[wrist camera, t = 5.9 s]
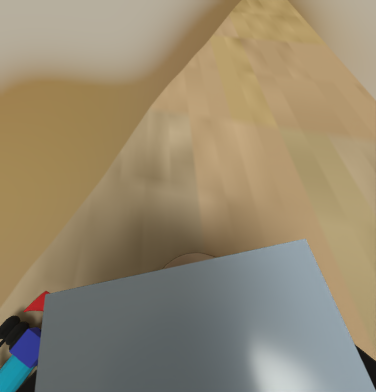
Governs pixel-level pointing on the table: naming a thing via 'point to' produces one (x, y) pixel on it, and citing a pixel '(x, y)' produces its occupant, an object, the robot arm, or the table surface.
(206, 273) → the pale blue box
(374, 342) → the table surface
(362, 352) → the robot arm
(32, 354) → the toy figure
